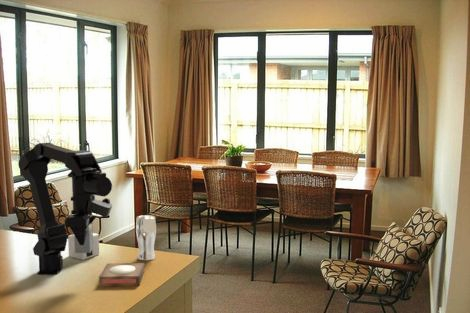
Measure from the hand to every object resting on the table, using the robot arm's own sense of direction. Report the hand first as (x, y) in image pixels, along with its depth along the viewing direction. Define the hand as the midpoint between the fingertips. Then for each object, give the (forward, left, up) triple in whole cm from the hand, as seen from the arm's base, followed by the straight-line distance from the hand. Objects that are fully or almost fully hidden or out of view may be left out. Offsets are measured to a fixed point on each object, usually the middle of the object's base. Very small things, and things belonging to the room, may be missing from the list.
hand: (83, 242), depth 152 cm
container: (-7, +27, -13) cm, 31 cm away
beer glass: (+16, +23, -13) cm, 31 cm away
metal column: (0, 0, -2) cm, 2 cm away
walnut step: (+11, +3, -13) cm, 17 cm away
